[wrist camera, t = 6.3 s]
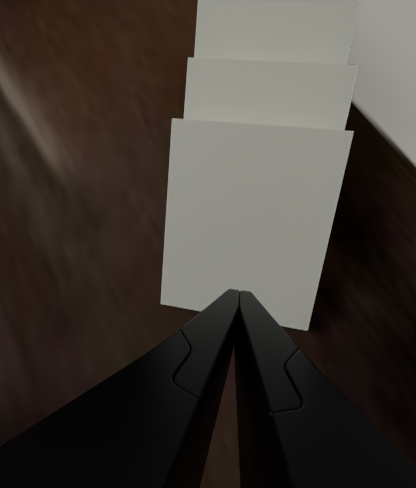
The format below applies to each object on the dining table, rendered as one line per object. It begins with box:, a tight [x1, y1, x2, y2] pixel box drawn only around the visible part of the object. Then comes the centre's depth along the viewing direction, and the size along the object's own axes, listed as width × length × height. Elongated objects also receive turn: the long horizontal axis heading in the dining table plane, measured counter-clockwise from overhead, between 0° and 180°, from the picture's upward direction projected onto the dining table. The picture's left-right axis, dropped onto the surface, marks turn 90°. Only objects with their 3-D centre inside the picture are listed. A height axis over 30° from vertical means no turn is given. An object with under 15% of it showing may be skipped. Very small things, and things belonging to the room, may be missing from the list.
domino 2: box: [184, 58, 360, 130], centre depth 17 cm, size 2×10×12 cm
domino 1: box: [161, 118, 354, 331], centre depth 16 cm, size 2×10×12 cm
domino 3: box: [194, 0, 362, 64], centre depth 18 cm, size 2×10×12 cm
